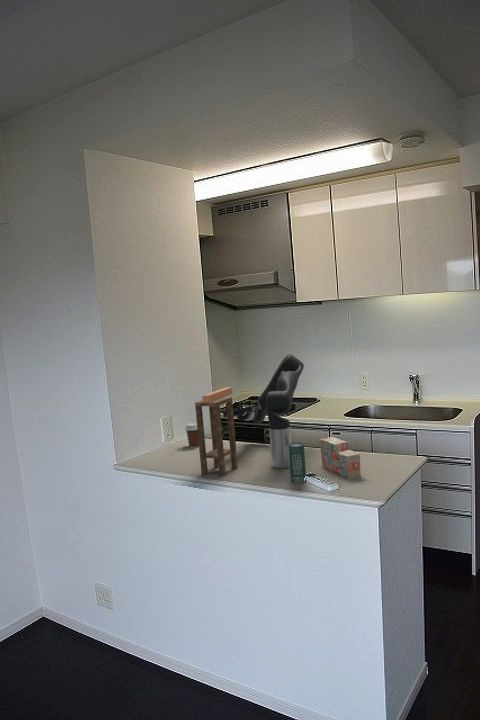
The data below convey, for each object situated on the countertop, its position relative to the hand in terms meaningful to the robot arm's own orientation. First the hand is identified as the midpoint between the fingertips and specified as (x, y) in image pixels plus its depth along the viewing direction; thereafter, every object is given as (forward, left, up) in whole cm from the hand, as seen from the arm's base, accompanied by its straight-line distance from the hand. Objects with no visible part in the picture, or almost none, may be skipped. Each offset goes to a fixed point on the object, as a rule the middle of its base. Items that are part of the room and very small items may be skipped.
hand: (233, 411), depth 262 cm
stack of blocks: (-51, +4, -24) cm, 57 cm away
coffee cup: (+35, -19, -24) cm, 46 cm away
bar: (0, +12, +9) cm, 15 cm away
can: (-39, +20, -24) cm, 50 cm away
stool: (0, +16, -23) cm, 29 cm away
